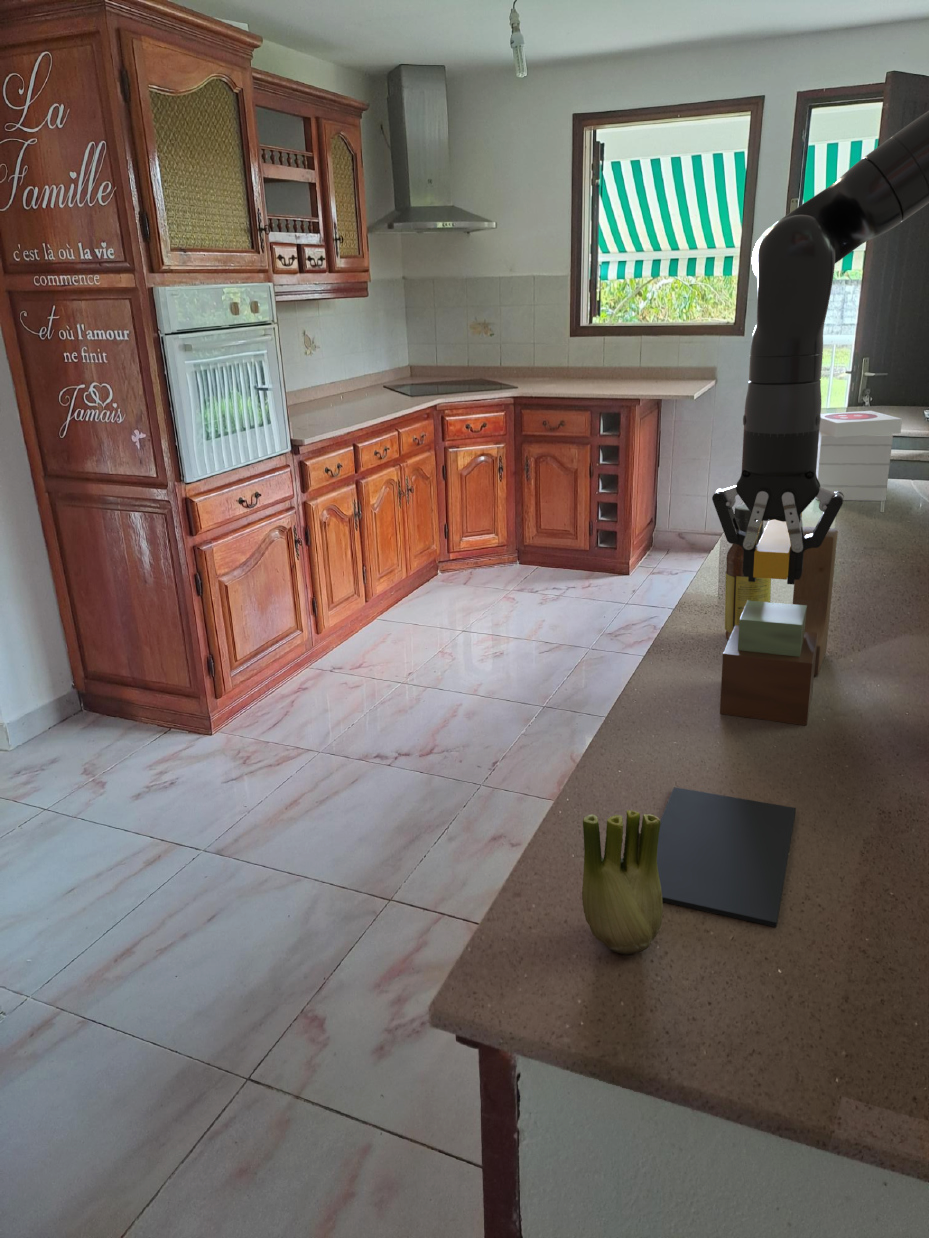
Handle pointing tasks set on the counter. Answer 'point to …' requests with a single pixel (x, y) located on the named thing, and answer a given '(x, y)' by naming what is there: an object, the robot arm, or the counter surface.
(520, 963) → the counter surface
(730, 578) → the sauce bottle
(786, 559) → the bar
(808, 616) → the wooden block
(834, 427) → the pizza boxes
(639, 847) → the fennel bulb
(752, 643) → the green-topped brown box
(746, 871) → the mat
